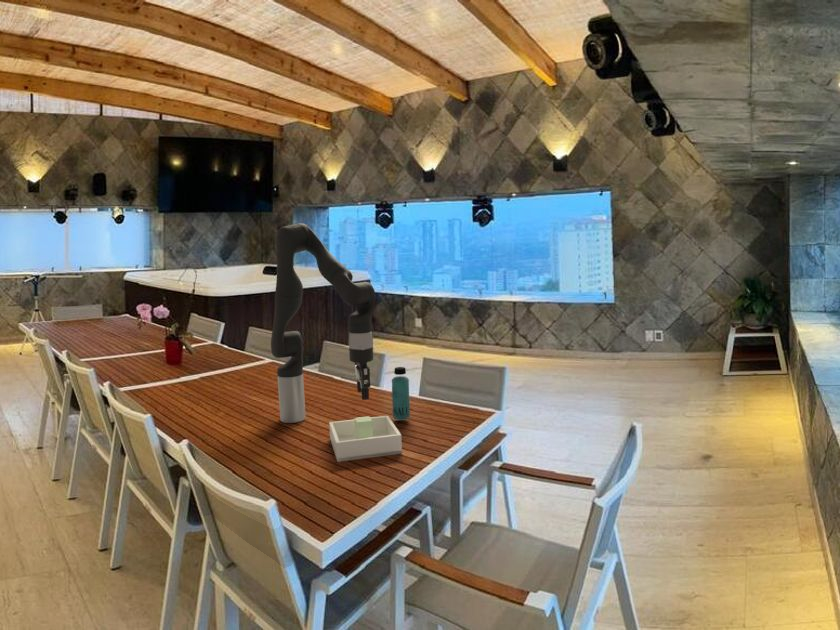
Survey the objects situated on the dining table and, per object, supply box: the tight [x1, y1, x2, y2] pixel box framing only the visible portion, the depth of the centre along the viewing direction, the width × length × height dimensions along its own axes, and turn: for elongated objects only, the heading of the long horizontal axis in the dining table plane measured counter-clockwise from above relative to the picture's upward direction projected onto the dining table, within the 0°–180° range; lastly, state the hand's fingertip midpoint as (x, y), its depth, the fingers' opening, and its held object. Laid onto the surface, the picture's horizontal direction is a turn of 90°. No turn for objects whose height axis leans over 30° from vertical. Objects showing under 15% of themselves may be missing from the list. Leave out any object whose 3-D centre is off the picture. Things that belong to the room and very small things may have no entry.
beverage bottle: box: [391, 366, 411, 421], centre depth 204 cm, size 6×7×20 cm
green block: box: [354, 415, 373, 439], centre depth 181 cm, size 5×5×8 cm
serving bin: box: [328, 415, 403, 463], centre depth 181 cm, size 20×20×6 cm
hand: (363, 395), depth 180 cm, fingers open, 8 cm apart
